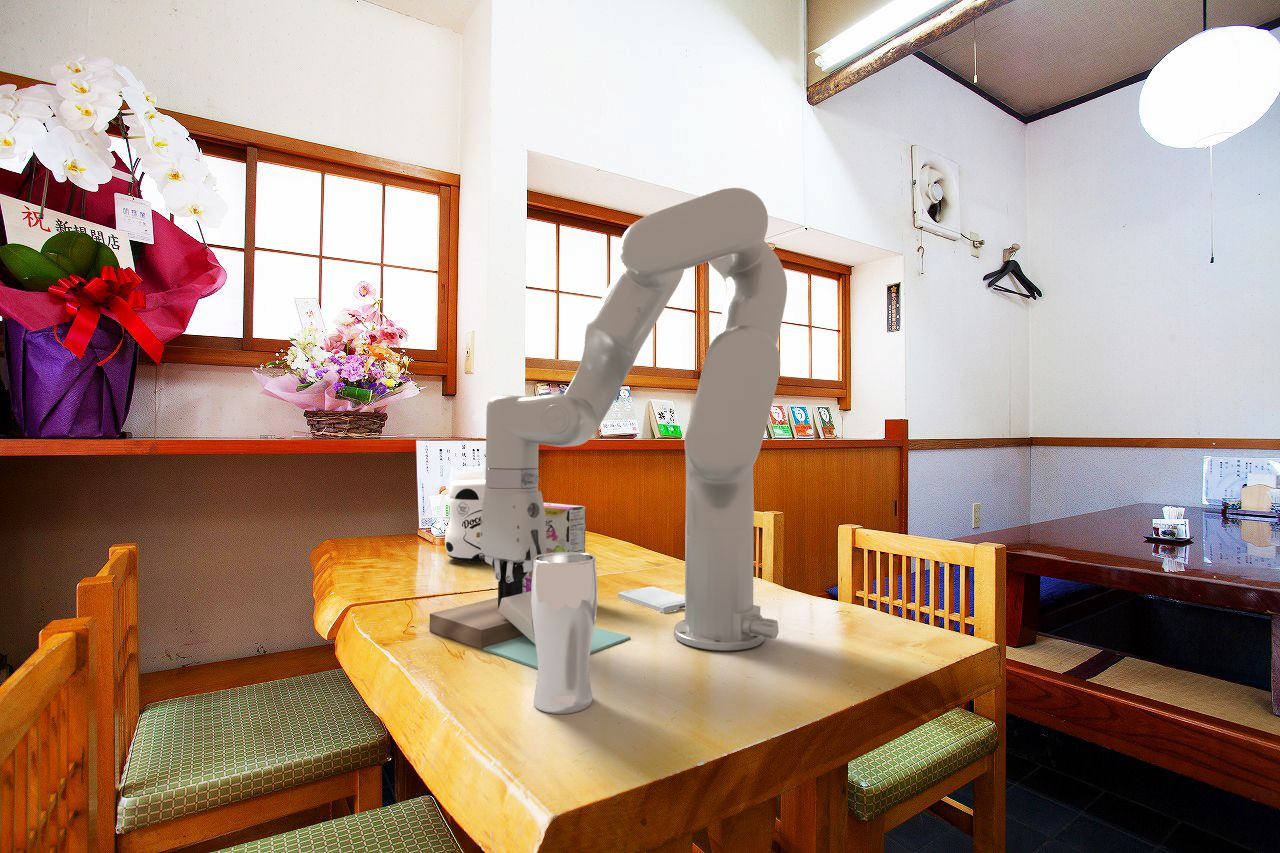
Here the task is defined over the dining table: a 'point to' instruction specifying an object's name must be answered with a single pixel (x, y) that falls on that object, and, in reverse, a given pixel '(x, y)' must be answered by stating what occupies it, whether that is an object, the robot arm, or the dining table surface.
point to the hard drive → (655, 598)
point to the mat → (527, 654)
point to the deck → (474, 624)
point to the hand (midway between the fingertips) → (510, 607)
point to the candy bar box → (562, 532)
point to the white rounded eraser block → (519, 612)
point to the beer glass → (563, 629)
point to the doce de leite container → (465, 521)
